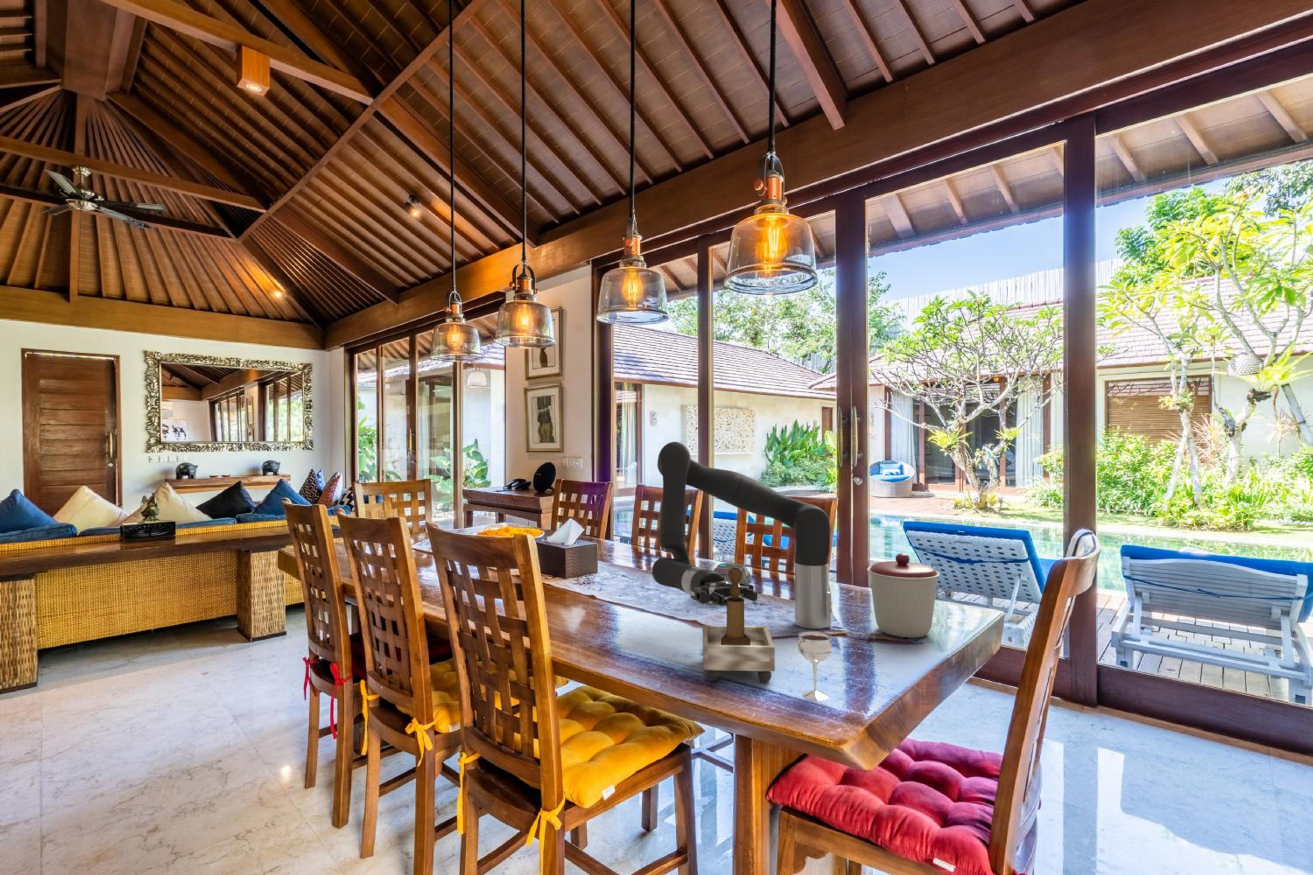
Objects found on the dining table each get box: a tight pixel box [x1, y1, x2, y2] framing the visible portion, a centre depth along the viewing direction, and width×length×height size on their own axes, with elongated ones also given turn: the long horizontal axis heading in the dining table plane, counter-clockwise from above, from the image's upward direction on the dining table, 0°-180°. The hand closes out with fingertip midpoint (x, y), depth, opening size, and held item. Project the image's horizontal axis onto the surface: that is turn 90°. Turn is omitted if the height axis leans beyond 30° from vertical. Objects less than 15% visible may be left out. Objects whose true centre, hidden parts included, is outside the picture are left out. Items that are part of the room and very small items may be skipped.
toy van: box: [712, 562, 752, 601], centre depth 208 cm, size 11×25×10 cm, turn 163°
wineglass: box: [797, 630, 833, 701], centre depth 125 cm, size 7×7×12 cm
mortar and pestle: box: [721, 568, 750, 645], centre depth 138 cm, size 7×6×18 cm
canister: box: [866, 552, 941, 639], centre depth 165 cm, size 18×18×21 cm
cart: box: [702, 625, 776, 683], centre depth 138 cm, size 15×15×8 cm
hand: (739, 598), depth 137 cm, fingers open, 8 cm apart
